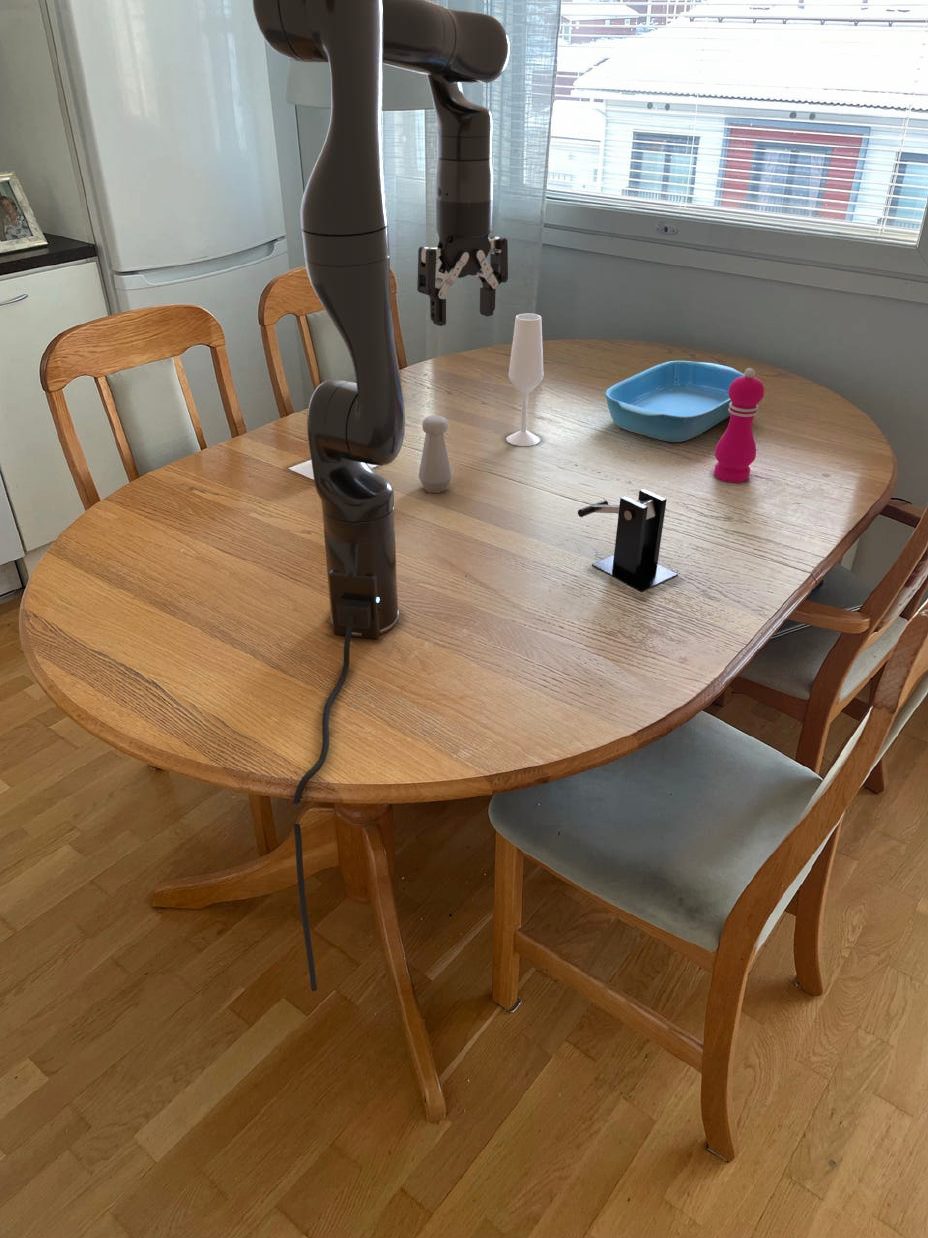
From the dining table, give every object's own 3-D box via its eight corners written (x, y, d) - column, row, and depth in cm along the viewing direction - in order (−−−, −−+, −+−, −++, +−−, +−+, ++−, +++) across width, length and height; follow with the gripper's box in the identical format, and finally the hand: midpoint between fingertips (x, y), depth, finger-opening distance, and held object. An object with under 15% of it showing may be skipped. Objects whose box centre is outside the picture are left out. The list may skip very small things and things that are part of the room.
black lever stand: (591, 571, 139) (598, 493, 132) (627, 555, 143) (636, 479, 136) (640, 598, 133) (651, 518, 126) (677, 581, 137) (689, 503, 130)
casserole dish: (681, 457, 176) (686, 421, 172) (584, 429, 188) (586, 395, 184) (764, 407, 200) (770, 374, 196) (672, 384, 212) (677, 353, 208)
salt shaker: (447, 496, 161) (447, 425, 154) (415, 493, 162) (414, 422, 155) (454, 482, 166) (454, 413, 159) (423, 479, 166) (422, 410, 159)
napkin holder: (327, 486, 164) (325, 456, 161) (287, 468, 170) (284, 439, 167) (388, 461, 173) (387, 432, 170) (347, 445, 180) (345, 417, 177)
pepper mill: (706, 478, 168) (724, 370, 157) (716, 464, 173) (734, 359, 163) (746, 486, 165) (767, 377, 154) (755, 472, 171) (776, 365, 160)
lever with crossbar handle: (578, 520, 139) (576, 505, 139) (604, 511, 142) (601, 495, 142) (637, 523, 130) (634, 507, 129) (663, 512, 133) (661, 496, 132)
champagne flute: (545, 443, 182) (553, 319, 169) (514, 447, 179) (519, 323, 166) (531, 431, 187) (537, 310, 174) (500, 435, 185) (504, 313, 172)
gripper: (438, 204, 116) (439, 334, 124) (523, 194, 123) (518, 317, 132) (404, 196, 121) (407, 322, 129) (487, 187, 128) (485, 306, 137)
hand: (463, 319), depth 131 cm, fingers open, 8 cm apart
